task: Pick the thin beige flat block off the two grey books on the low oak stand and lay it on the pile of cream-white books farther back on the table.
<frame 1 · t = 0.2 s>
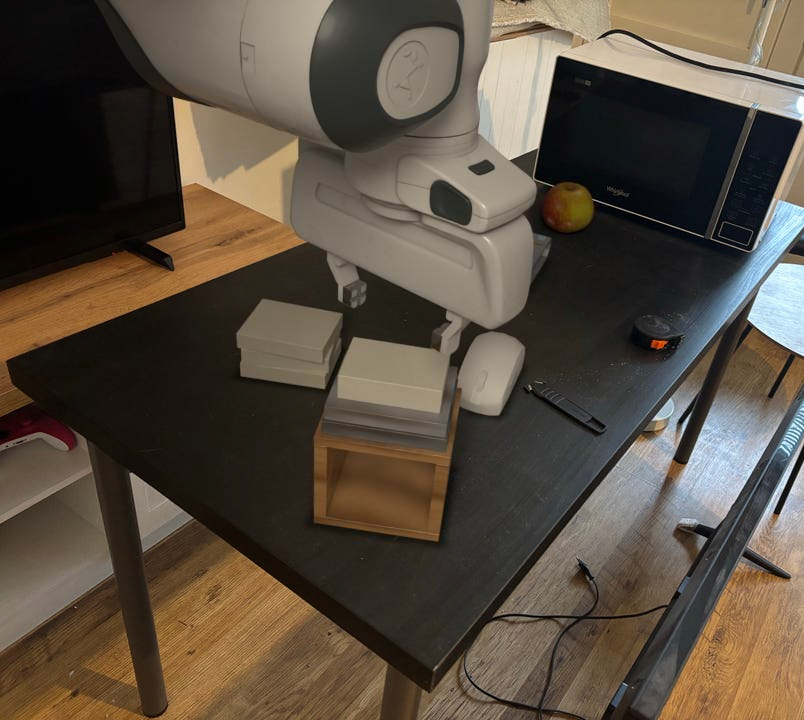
hand: (396, 325, 58), 23 cm above the table, tool pointing down, fingers open, 8 cm apart
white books: (292, 363, 90), on the table
computer mouse: (488, 384, 92), on the table
book: (471, 263, 117), on the table
fruit: (563, 229, 132), on the table
oak stand: (385, 494, 74), on the table
beige flat block: (394, 385, 66), point 14 cm above the table, touching oak stand
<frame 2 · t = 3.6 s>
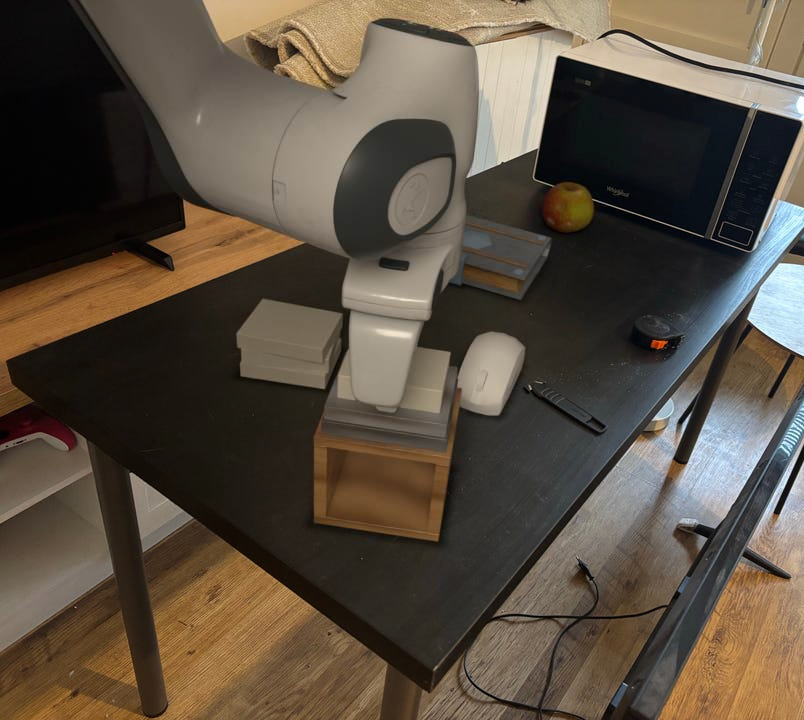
hand: (394, 381, 66), 14 cm above the table, tool pointing down, fingers closed on beige flat block, 6 cm apart
beige flat block: (394, 385, 66), point 14 cm above the table, touching gripper, oak stand
everything else where it was.
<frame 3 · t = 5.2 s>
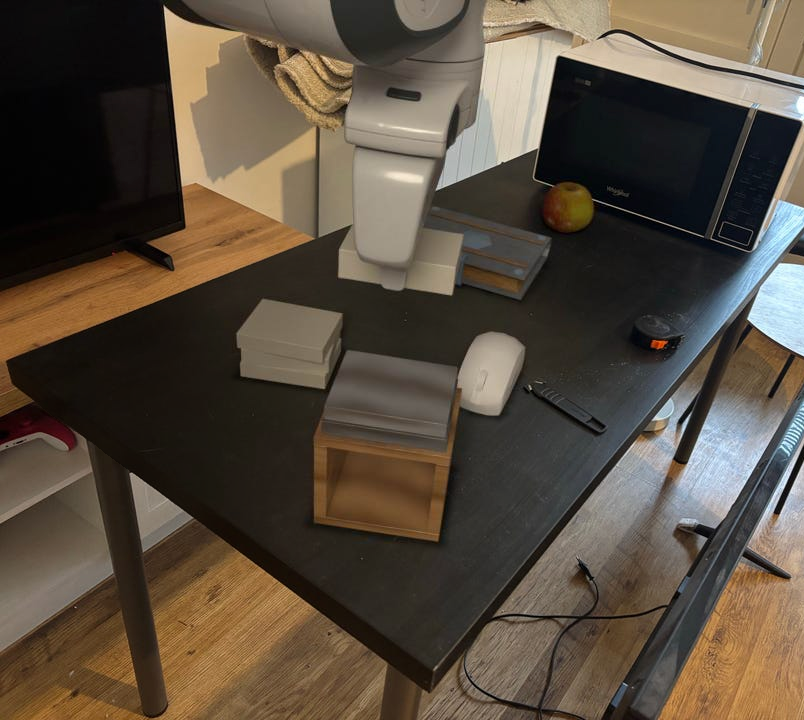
hand: (401, 263, 59), 26 cm above the table, tool pointing down, fingers closed on beige flat block, 6 cm apart
beige flat block: (401, 269, 60), point 26 cm above the table, touching gripper
everything else where it was.
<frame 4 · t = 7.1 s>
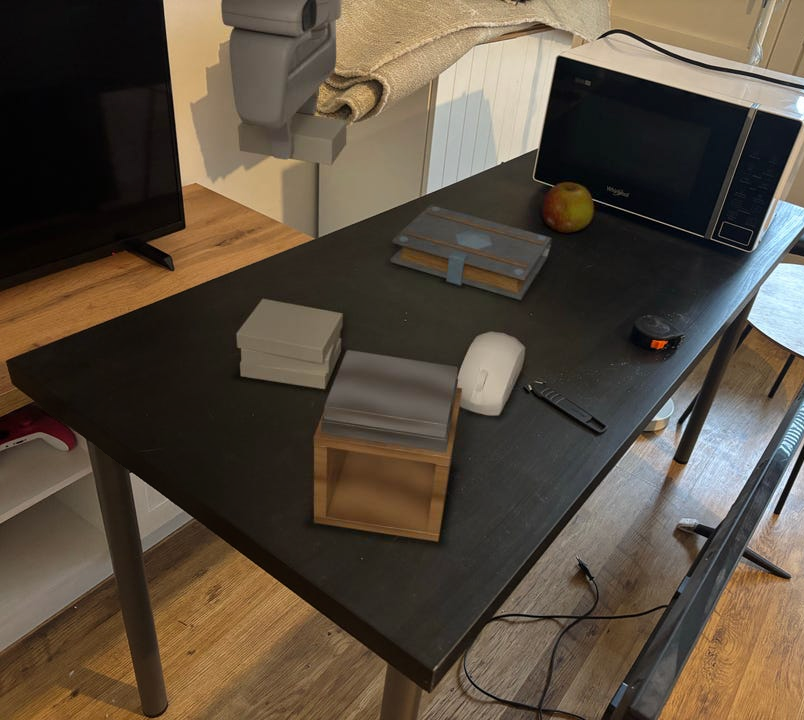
hand: (294, 143, 73), 28 cm above the table, tool pointing down, fingers closed on beige flat block, 6 cm apart
beige flat block: (294, 147, 73), point 27 cm above the table, touching gripper
everything else where it was.
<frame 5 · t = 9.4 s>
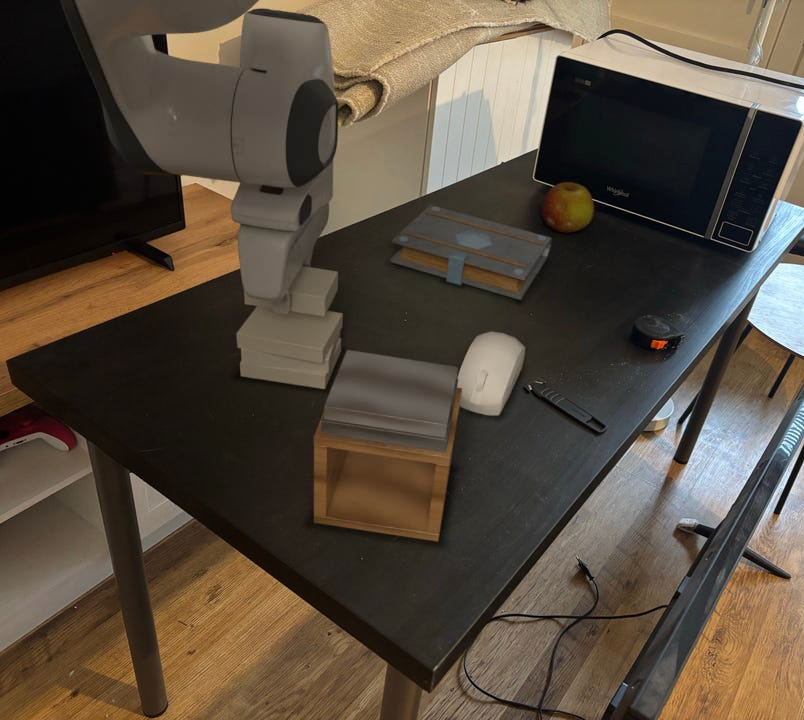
hand: (291, 293, 84), 10 cm above the table, tool pointing down, fingers closed on beige flat block, 6 cm apart
beige flat block: (292, 296, 84), point 9 cm above the table, touching gripper
everything else where it was.
when the fingers open (6 cm above the table, at t = 10.8 s): beige flat block stays where it is, resting on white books.
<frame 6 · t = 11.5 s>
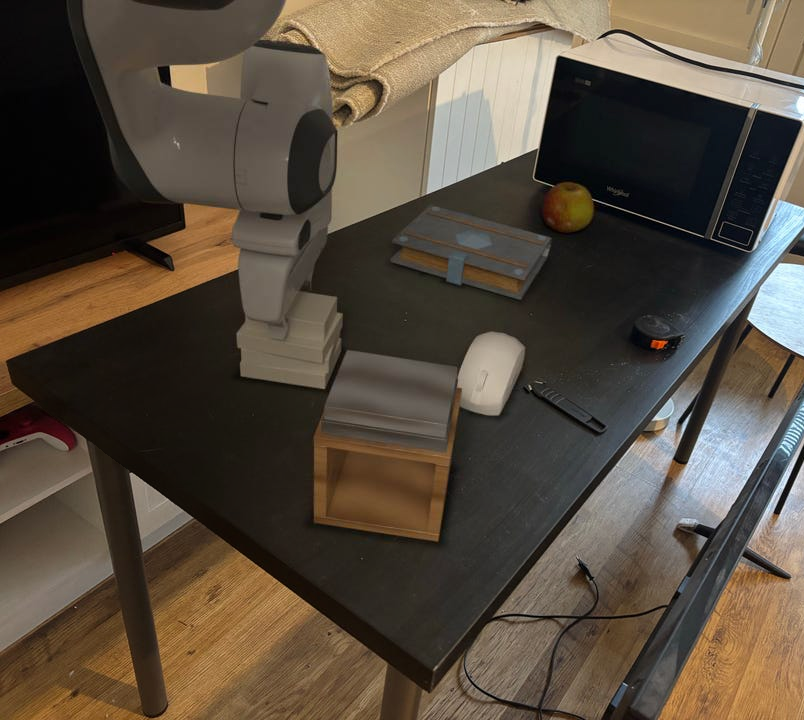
hand: (291, 313, 85), 7 cm above the table, tool pointing down, fingers open, 8 cm apart
beige flat block: (292, 322, 86), point 6 cm above the table, touching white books
everything else where it was.
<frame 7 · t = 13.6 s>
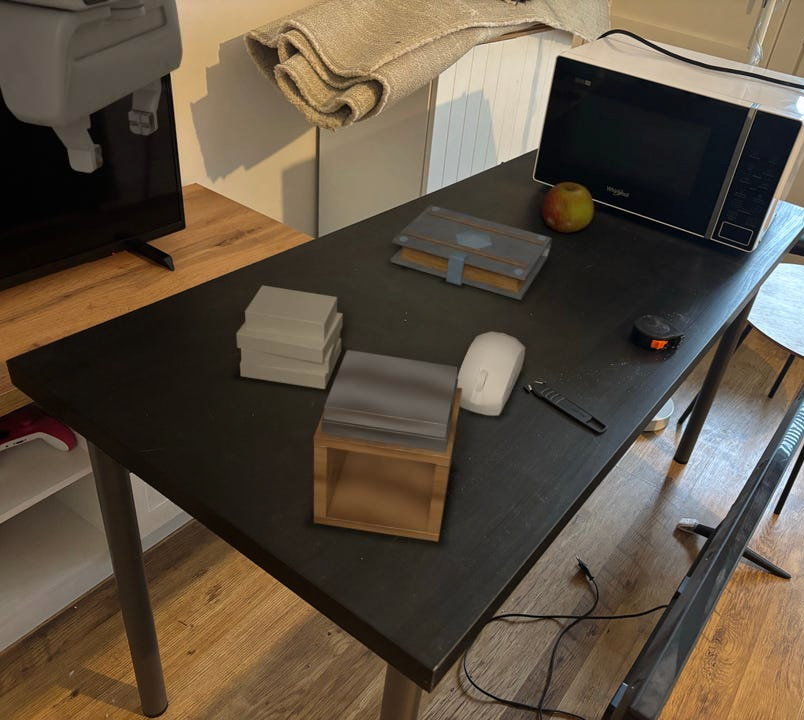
hand: (117, 149, 60), 30 cm above the table, tool pointing down, fingers open, 8 cm apart
nothing on the table moved.
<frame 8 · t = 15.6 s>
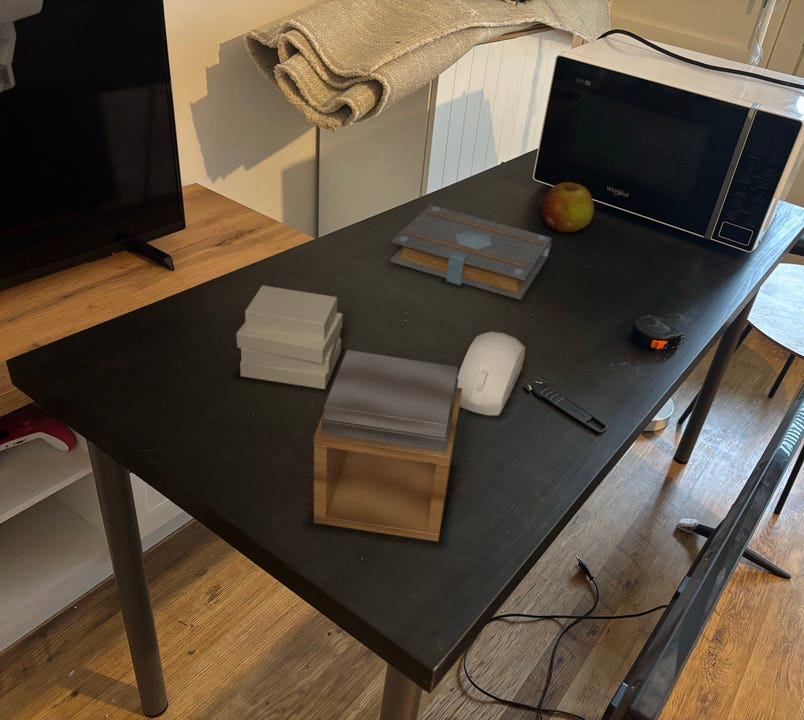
nothing on the table moved.
at the end: beige flat block 0.1 cm off-centre on the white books, point 6.0 cm above the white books's base; beige flat block tilted 0° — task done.
